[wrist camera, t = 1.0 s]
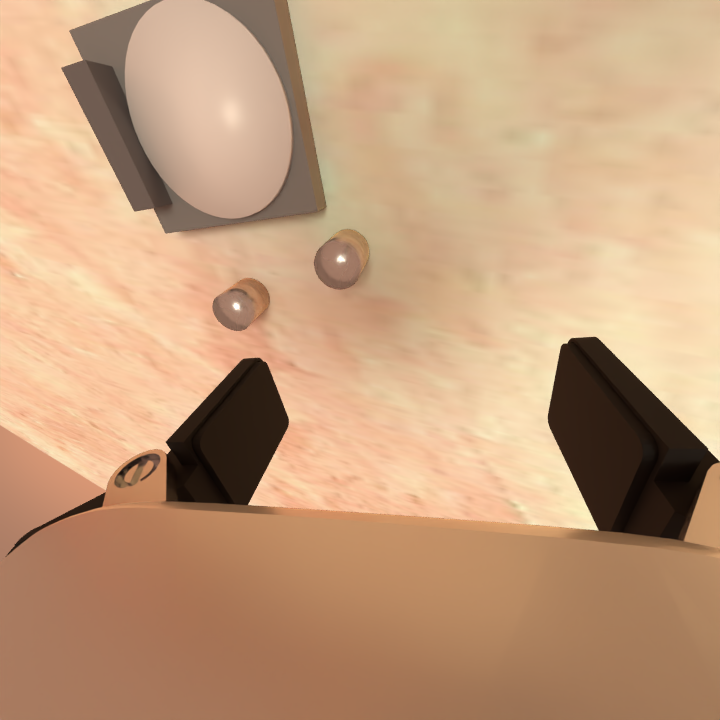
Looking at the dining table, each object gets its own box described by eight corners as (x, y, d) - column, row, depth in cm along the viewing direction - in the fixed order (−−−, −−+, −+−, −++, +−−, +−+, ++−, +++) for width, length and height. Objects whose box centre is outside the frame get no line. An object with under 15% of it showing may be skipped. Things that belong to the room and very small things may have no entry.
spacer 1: (230, 279, 37) (205, 295, 33) (262, 276, 36) (241, 293, 32) (243, 312, 39) (222, 331, 35) (274, 310, 38) (256, 330, 34)
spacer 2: (324, 232, 32) (309, 244, 28) (366, 226, 30) (356, 239, 26) (333, 273, 34) (320, 290, 30) (371, 270, 33) (363, 287, 29)
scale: (98, 41, 26) (35, 21, 22) (282, -24, 22) (247, -63, 18) (181, 227, 34) (146, 239, 30) (326, 206, 30) (309, 216, 26)
